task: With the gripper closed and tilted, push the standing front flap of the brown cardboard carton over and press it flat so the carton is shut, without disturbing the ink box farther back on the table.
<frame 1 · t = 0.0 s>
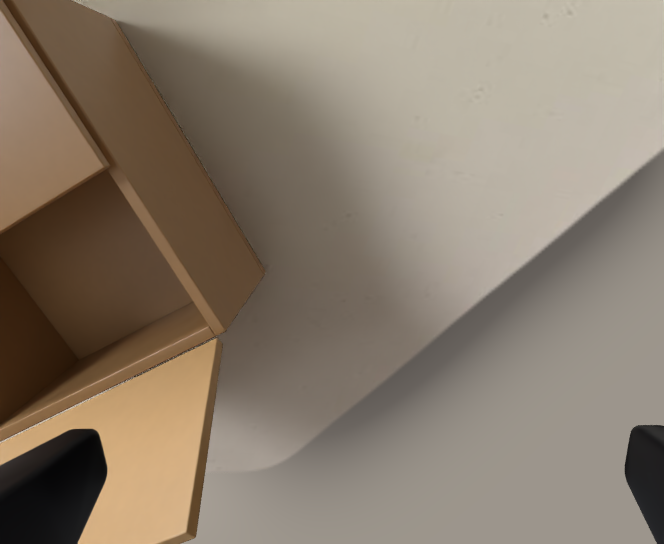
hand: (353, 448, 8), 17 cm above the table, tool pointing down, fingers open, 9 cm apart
carton: (97, 213, 24), on the table
flap: (51, 488, 15), point 11 cm above the table, hinge at 110.0°
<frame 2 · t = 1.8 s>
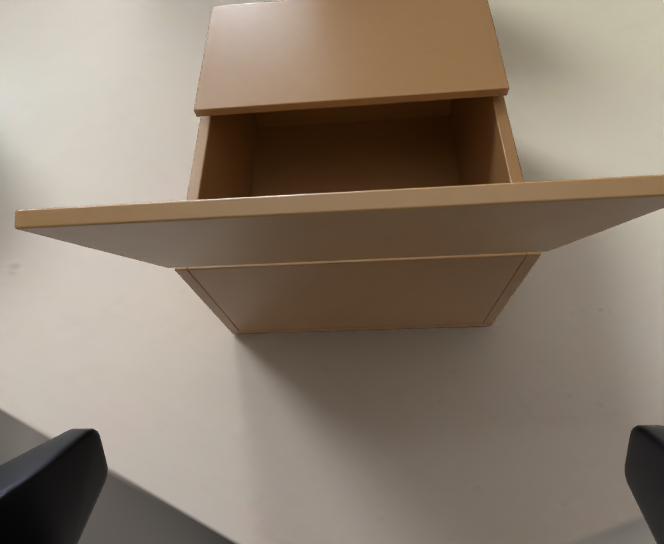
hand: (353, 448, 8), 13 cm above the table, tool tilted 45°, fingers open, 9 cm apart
carton: (355, 213, 26), on the table
flap: (346, 235, 12), point 11 cm above the table, hinge at 110.0°
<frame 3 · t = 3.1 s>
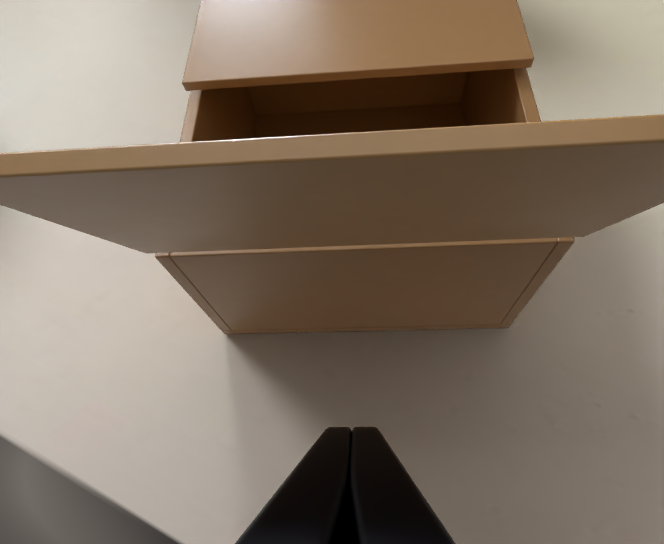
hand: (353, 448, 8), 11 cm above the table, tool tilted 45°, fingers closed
carton: (359, 205, 24), on the table
flap: (351, 208, 10), point 11 cm above the table, hinge at 110.0°
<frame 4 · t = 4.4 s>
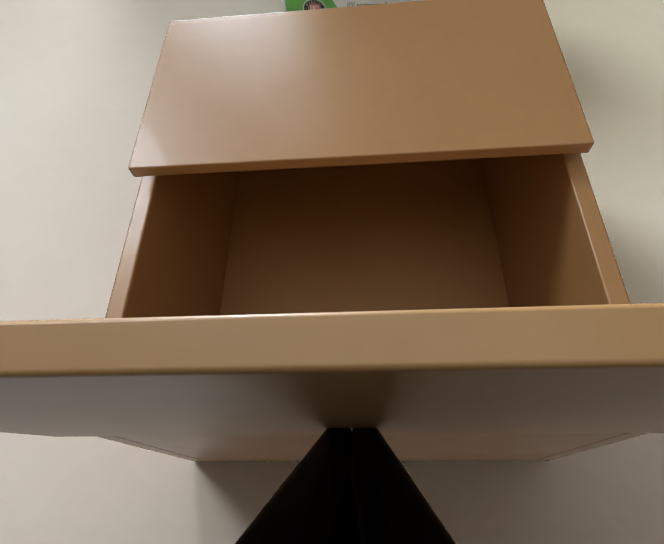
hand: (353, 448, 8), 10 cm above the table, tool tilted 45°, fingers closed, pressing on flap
ink box: (358, 16, 29), on the table
carton: (360, 288, 20), on the table
flap: (347, 404, 6), point 12 cm above the table, hinge at 94.4°, touching gripper
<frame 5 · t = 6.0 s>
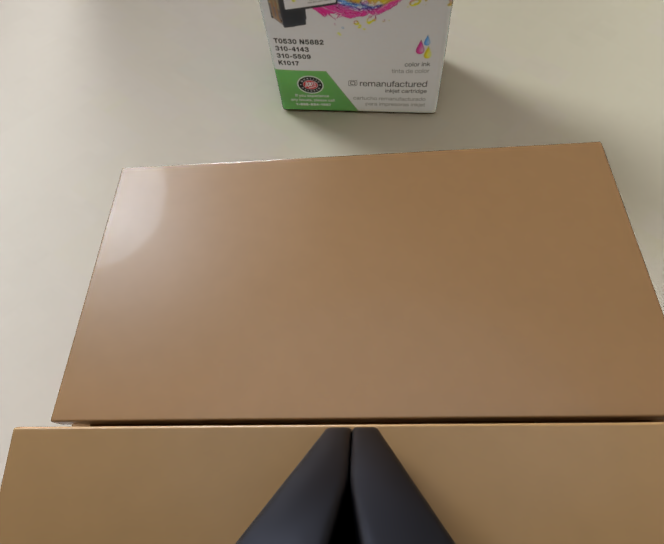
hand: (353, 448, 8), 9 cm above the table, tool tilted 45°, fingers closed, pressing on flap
ink box: (361, 85, 25), on the table
carton: (365, 459, 16), on the table
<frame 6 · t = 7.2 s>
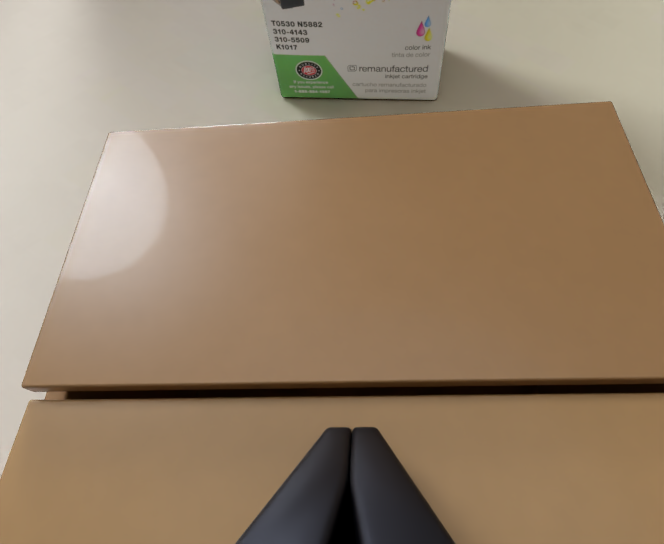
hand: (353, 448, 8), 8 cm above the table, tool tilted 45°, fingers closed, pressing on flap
ink box: (361, 74, 25), on the table
carton: (363, 448, 15), on the table
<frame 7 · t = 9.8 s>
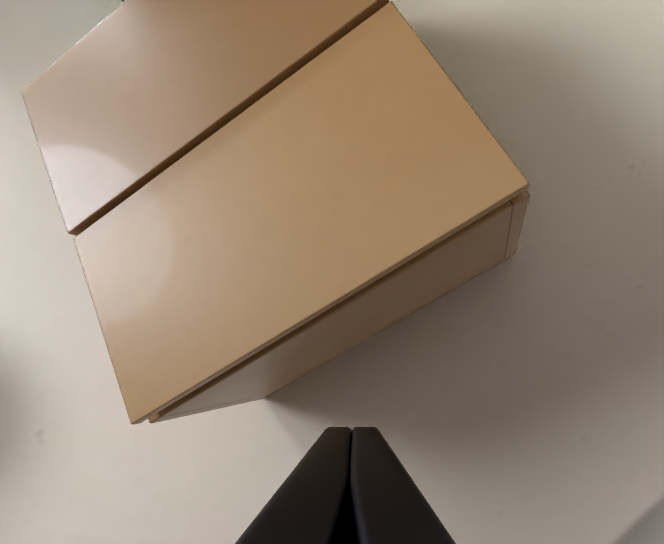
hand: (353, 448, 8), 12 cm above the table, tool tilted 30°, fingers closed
carton: (311, 205, 22), on the table
flap: (262, 217, 13), point 8 cm above the table, hinge at -1.3°
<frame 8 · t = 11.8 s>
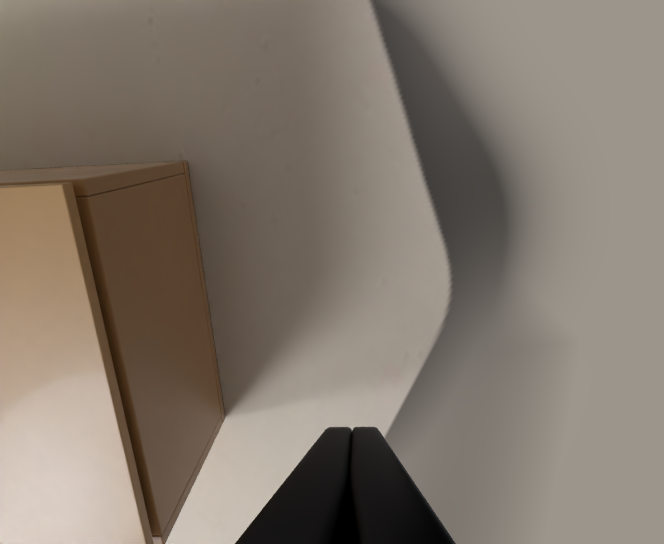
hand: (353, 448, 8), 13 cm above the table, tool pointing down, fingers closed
carton: (68, 305, 22), on the table
flap: (12, 398, 14), point 8 cm above the table, hinge at -1.3°
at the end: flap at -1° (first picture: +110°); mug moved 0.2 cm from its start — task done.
